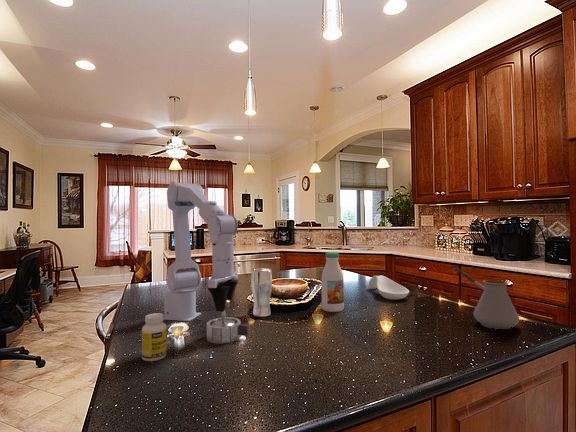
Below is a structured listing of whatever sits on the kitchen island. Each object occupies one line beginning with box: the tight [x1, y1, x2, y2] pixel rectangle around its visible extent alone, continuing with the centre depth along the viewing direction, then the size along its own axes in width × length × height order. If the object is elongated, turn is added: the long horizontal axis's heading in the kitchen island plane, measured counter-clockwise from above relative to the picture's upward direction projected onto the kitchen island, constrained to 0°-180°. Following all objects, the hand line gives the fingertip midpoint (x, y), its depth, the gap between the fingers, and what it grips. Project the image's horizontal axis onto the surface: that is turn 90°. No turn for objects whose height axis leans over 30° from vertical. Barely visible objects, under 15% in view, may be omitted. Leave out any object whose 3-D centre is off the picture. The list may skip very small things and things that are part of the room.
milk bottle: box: [321, 251, 345, 313], centre depth 115 cm, size 8×8×20 cm
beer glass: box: [250, 267, 273, 318], centre depth 110 cm, size 7×7×15 cm
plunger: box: [212, 299, 235, 327], centre depth 89 cm, size 6×6×7 cm
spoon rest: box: [367, 275, 410, 301], centre depth 135 cm, size 24×12×7 cm, turn 13°
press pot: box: [206, 316, 249, 344], centre depth 89 cm, size 11×9×4 cm
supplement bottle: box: [141, 312, 168, 362], centre depth 77 cm, size 5×5×10 cm
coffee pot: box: [452, 267, 520, 330], centre depth 101 cm, size 21×12×15 cm, turn 16°
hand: (223, 308), depth 89 cm, fingers closed on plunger, 4 cm apart
